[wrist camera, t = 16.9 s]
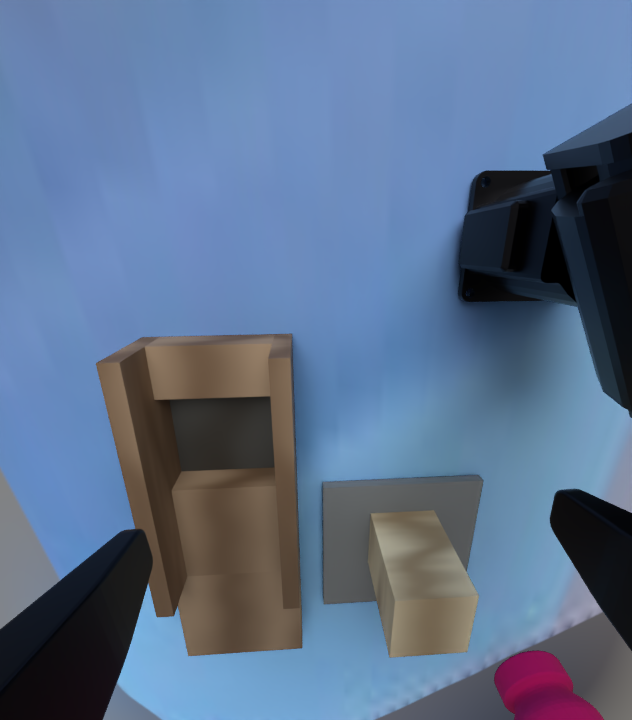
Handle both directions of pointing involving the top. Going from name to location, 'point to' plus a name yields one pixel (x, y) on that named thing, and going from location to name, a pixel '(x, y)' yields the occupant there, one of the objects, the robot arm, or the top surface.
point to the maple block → (419, 585)
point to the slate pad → (362, 497)
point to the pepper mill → (540, 689)
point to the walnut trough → (213, 482)
